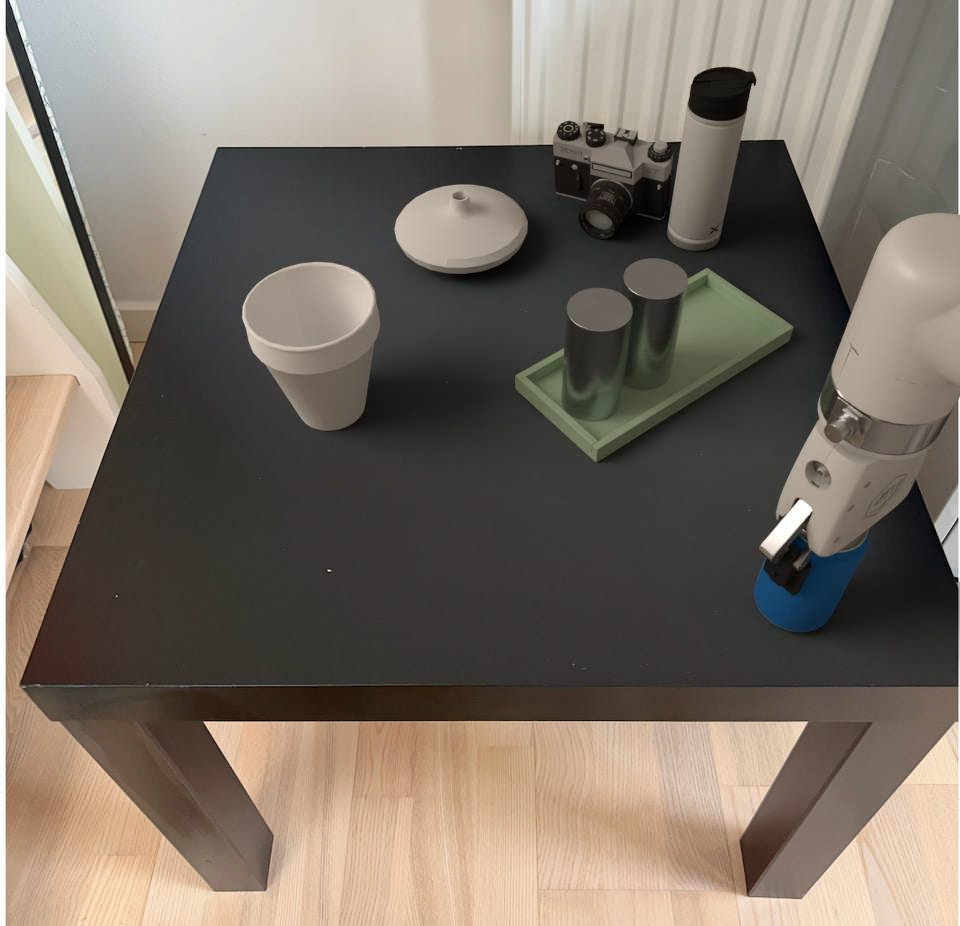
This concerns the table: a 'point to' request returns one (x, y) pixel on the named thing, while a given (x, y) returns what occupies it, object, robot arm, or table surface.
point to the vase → (461, 229)
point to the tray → (695, 369)
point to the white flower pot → (316, 338)
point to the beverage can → (810, 588)
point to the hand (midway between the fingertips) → (812, 556)
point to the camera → (611, 175)
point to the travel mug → (708, 156)
